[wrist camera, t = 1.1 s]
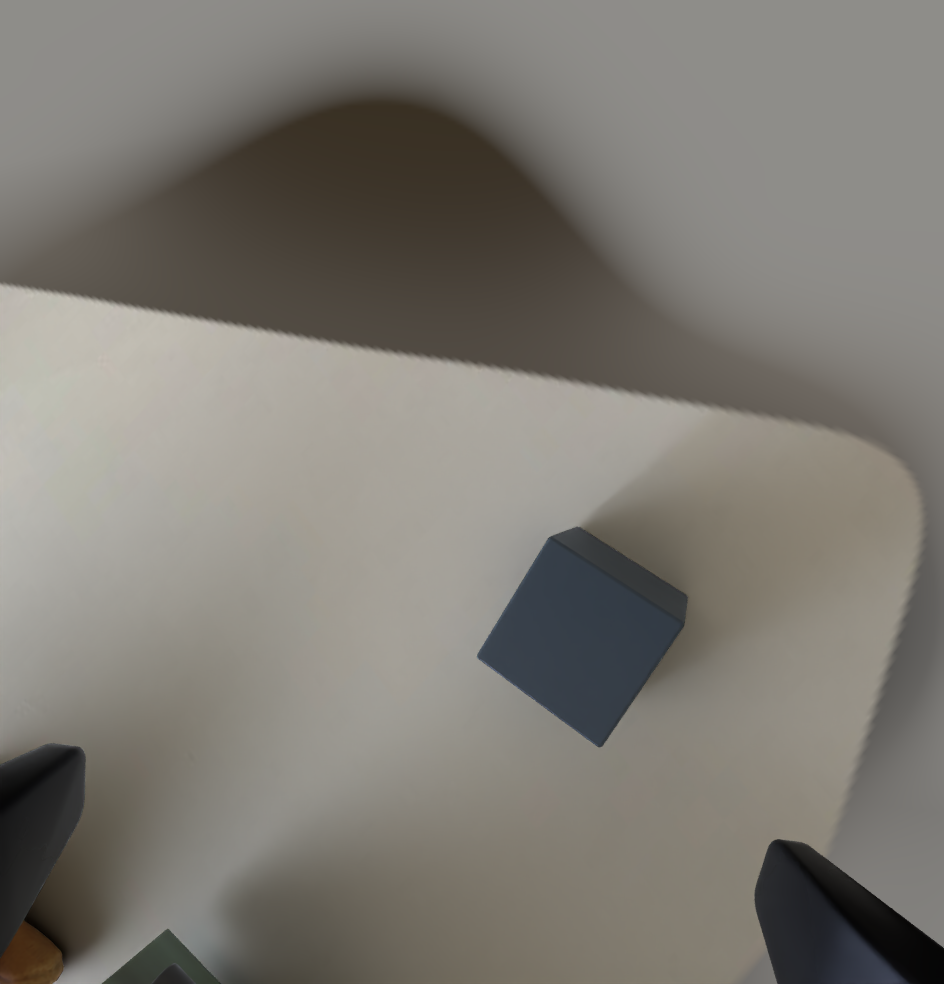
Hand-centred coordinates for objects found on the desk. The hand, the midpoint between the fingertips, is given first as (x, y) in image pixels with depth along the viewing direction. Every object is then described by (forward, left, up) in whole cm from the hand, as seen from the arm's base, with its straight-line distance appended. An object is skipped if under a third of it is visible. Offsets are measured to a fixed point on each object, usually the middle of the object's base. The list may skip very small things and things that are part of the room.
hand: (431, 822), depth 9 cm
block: (0, 0, -13) cm, 13 cm away
